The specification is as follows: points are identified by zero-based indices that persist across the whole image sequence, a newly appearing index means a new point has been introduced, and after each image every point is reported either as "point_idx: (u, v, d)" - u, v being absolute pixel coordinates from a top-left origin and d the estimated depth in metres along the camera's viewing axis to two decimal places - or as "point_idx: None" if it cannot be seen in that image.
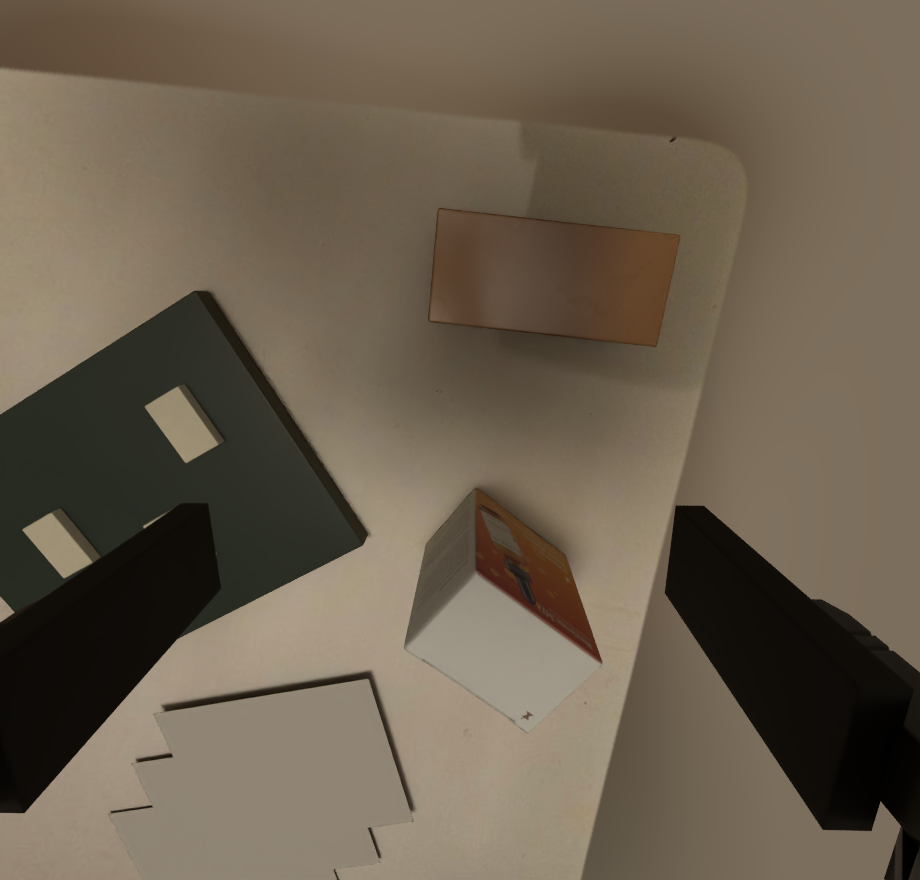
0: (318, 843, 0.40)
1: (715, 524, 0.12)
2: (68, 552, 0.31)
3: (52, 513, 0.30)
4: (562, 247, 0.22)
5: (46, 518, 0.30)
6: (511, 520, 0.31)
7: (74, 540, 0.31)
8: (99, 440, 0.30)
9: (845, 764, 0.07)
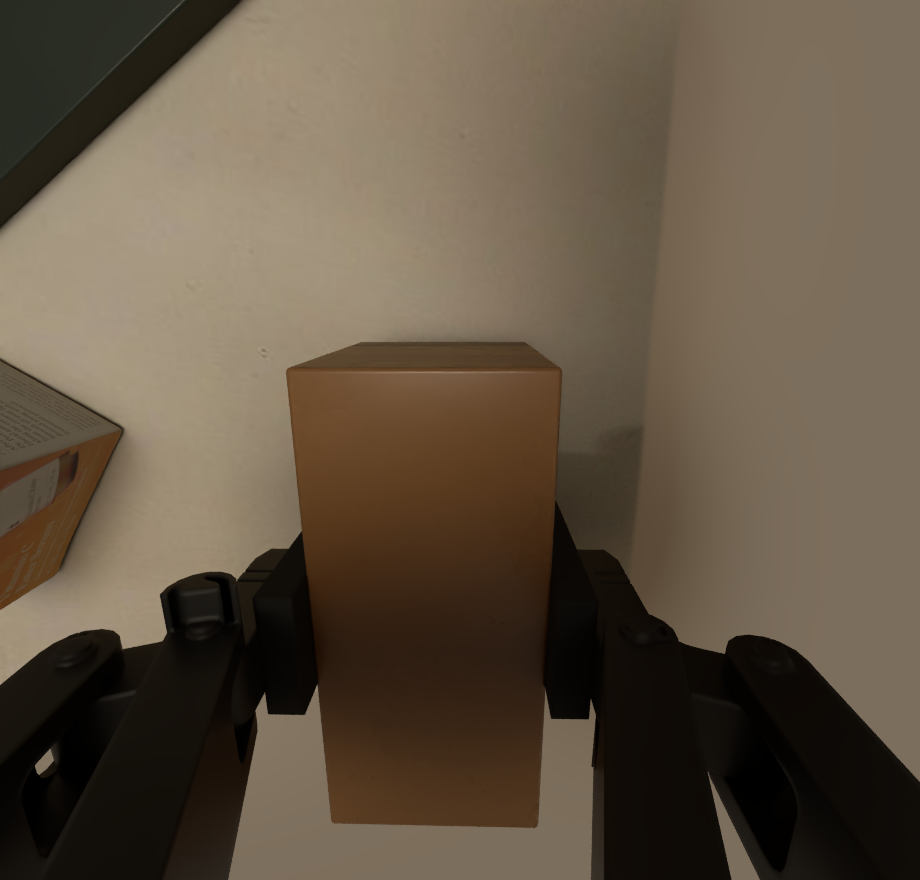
0: None
1: None
2: None
3: None
4: (497, 644, 0.10)
5: None
6: (77, 495, 0.19)
7: None
8: None
9: (558, 663, 0.09)
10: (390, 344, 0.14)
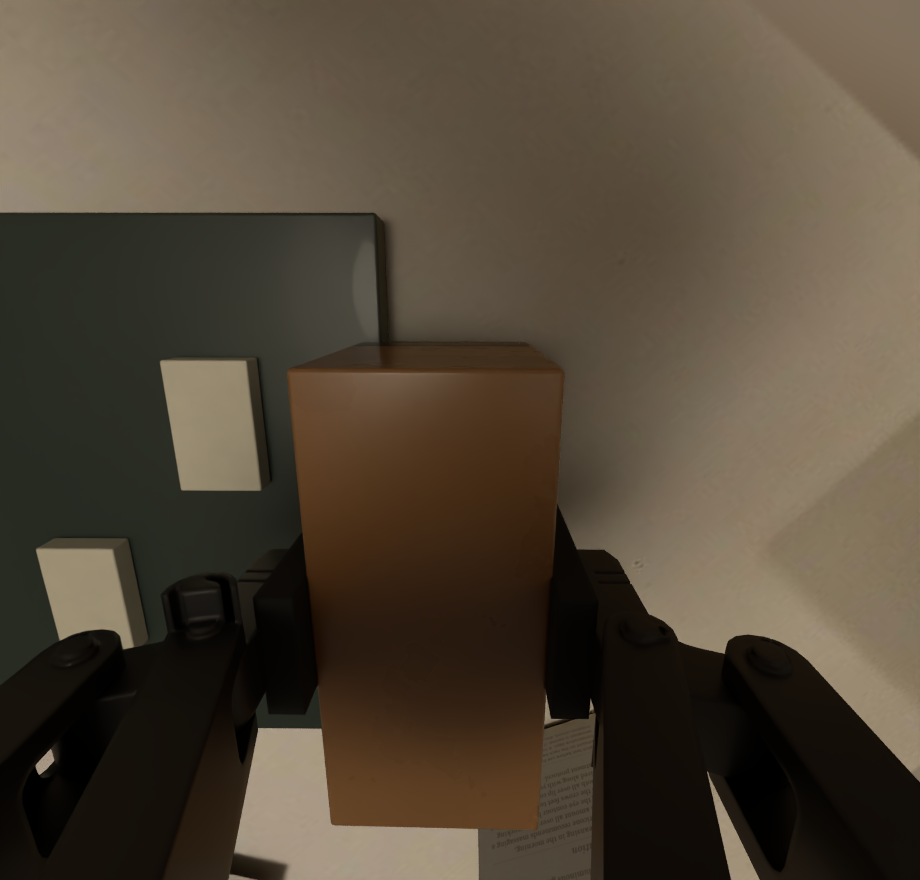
0: None
1: None
2: None
3: None
4: (498, 646, 0.10)
5: None
6: None
7: None
8: (33, 365, 0.15)
9: (558, 663, 0.09)
10: (391, 344, 0.14)
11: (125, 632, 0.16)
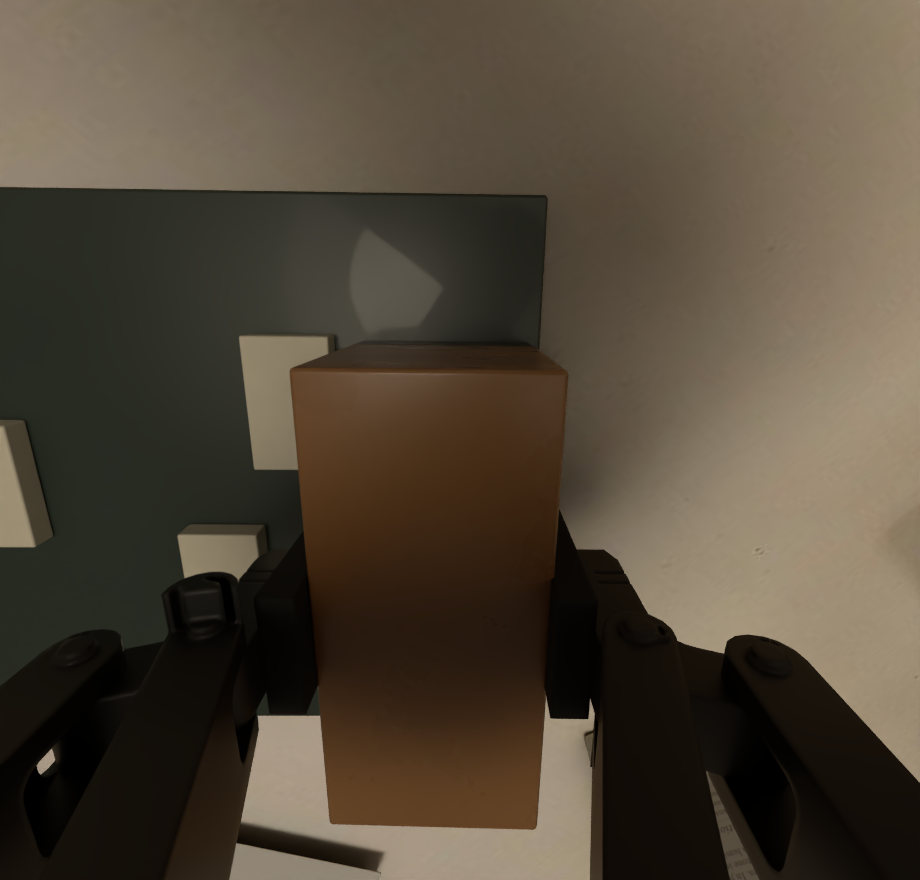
0: None
1: None
2: None
3: (4, 428, 0.14)
4: (498, 647, 0.10)
5: None
6: None
7: (22, 494, 0.15)
8: (183, 347, 0.14)
9: (558, 663, 0.09)
10: (392, 343, 0.13)
11: None
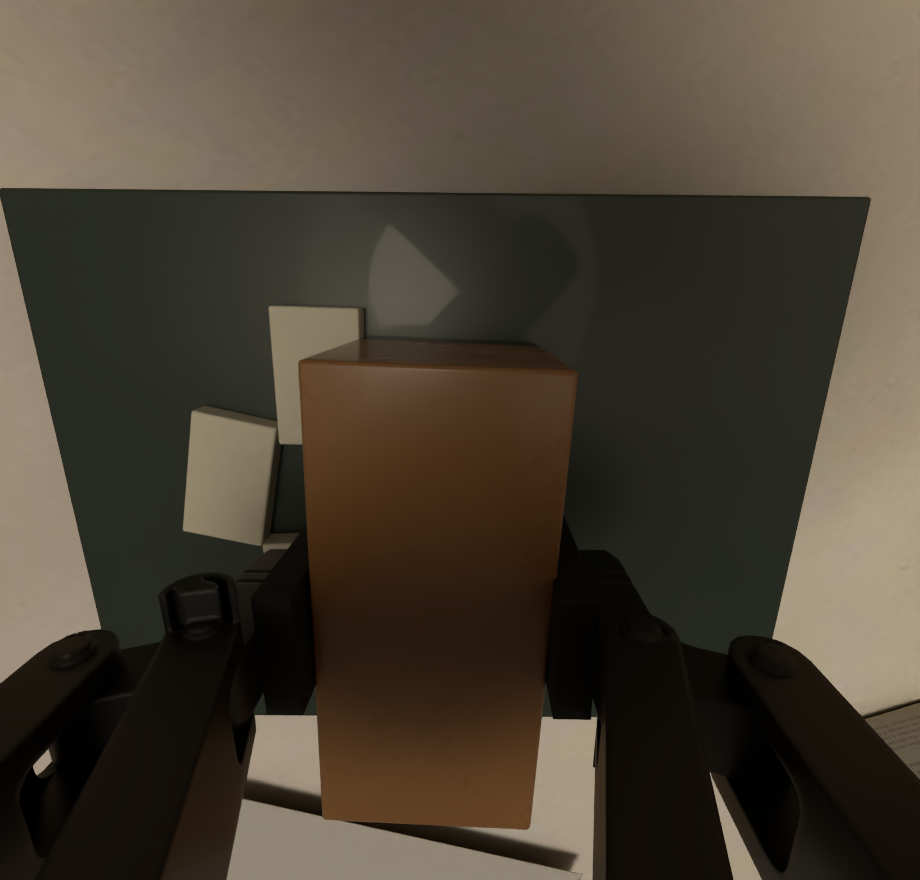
0: None
1: None
2: (236, 503, 0.15)
3: (275, 431, 0.14)
4: (498, 646, 0.10)
5: (257, 430, 0.14)
6: None
7: (268, 494, 0.15)
8: None
9: (560, 663, 0.09)
10: (398, 339, 0.13)
11: None
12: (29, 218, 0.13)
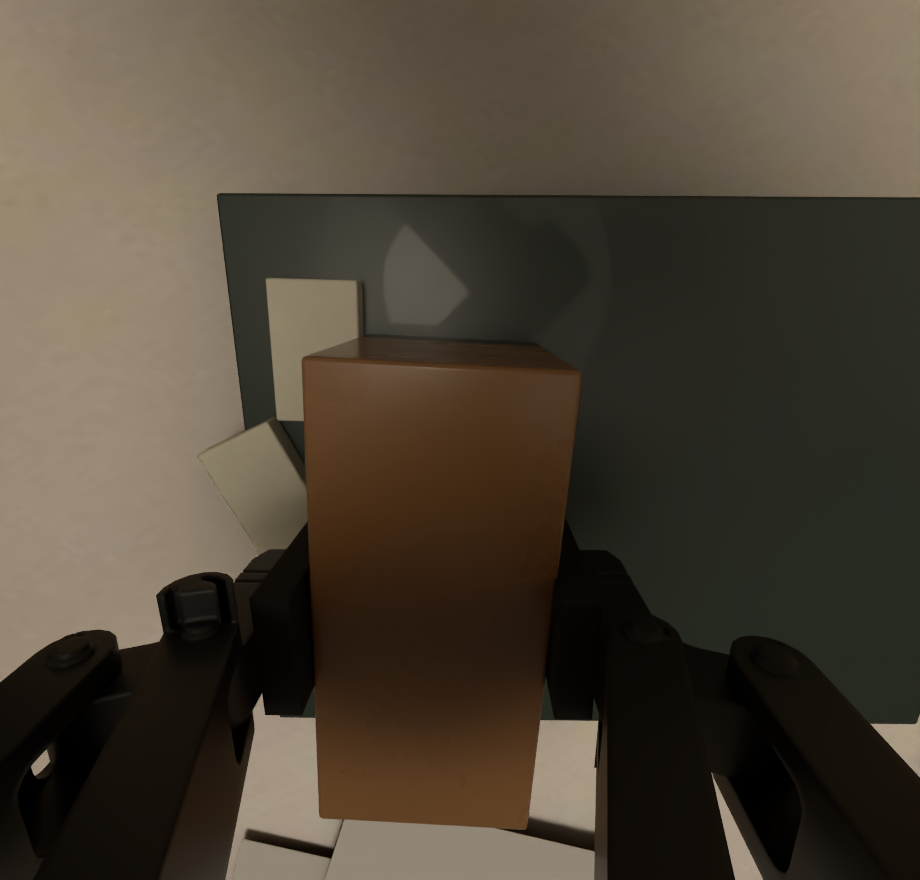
0: None
1: None
2: (286, 508, 0.15)
3: (268, 424, 0.14)
4: (498, 645, 0.10)
5: (254, 434, 0.14)
6: None
7: (304, 484, 0.15)
8: (684, 353, 0.14)
9: (561, 664, 0.09)
10: (400, 337, 0.13)
11: None
12: (244, 223, 0.13)
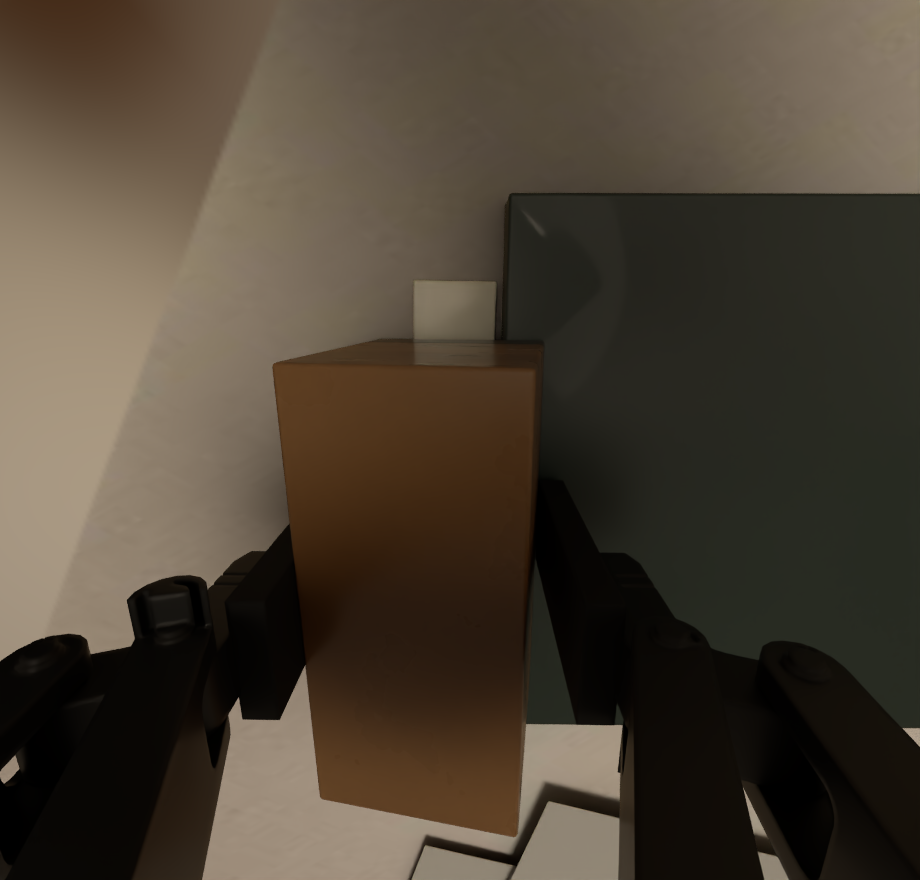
0: None
1: (561, 494, 0.14)
2: None
3: None
4: (472, 646, 0.10)
5: None
6: None
7: None
8: None
9: (584, 668, 0.09)
10: (405, 341, 0.14)
11: None
12: (535, 223, 0.13)
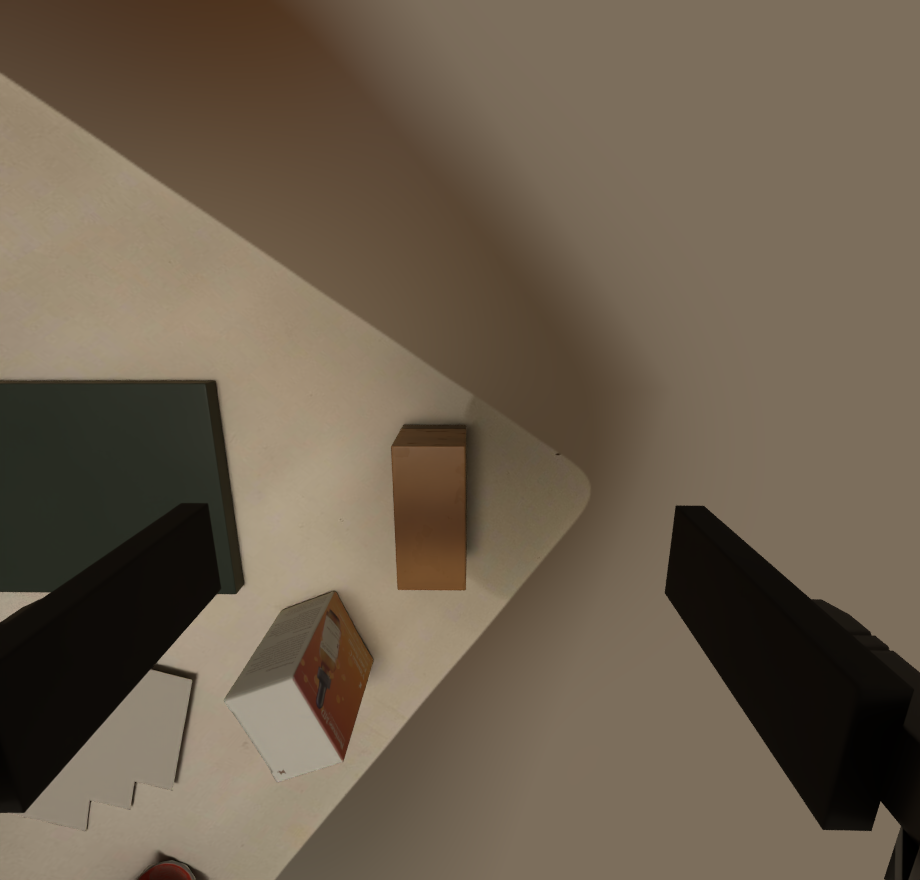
0: (88, 776, 0.48)
1: (715, 524, 0.12)
2: None
3: None
4: (450, 525, 0.34)
5: None
6: (346, 625, 0.42)
7: None
8: (78, 438, 0.38)
9: (845, 764, 0.07)
10: (415, 427, 0.37)
11: None
12: None
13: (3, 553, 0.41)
